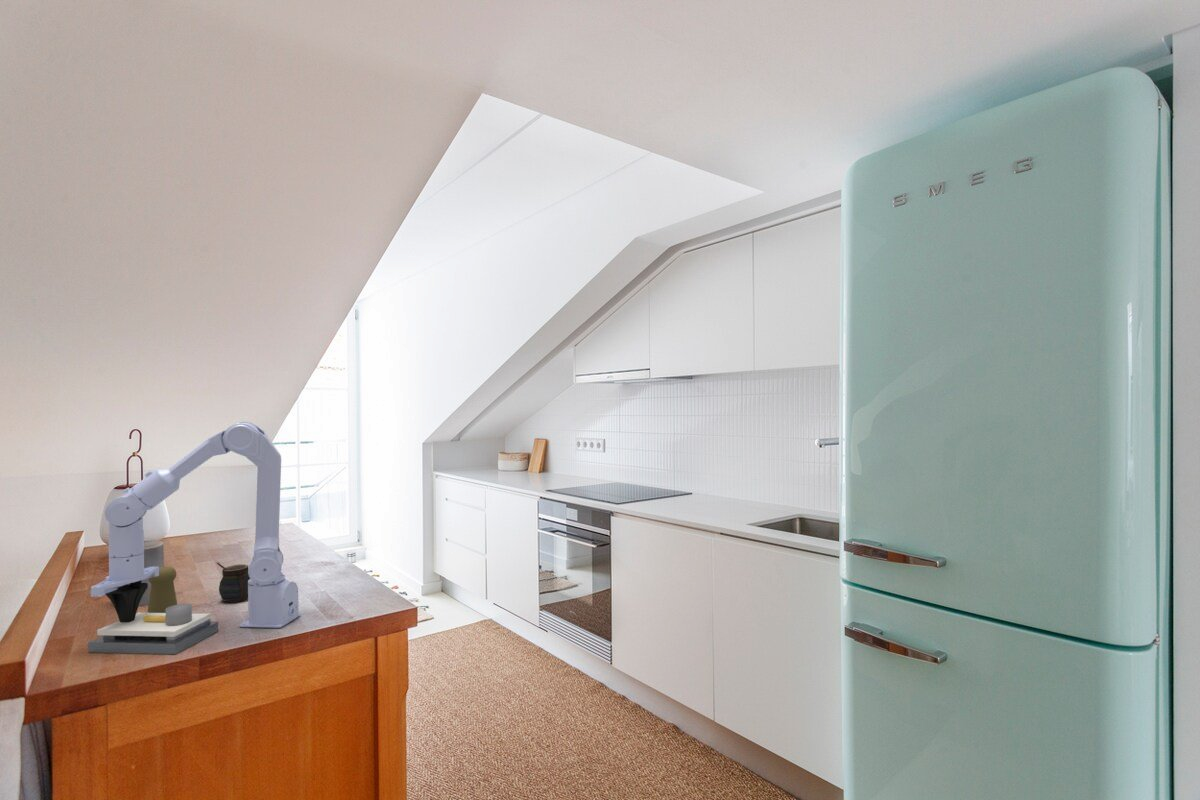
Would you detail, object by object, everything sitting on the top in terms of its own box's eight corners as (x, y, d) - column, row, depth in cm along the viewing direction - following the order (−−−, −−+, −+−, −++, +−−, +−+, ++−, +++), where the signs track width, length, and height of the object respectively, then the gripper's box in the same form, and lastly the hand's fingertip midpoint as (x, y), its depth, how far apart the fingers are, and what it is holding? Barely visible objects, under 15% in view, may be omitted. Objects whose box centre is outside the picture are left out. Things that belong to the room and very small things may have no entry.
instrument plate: (210, 618, 132) (210, 599, 132) (174, 636, 122) (174, 616, 122) (138, 617, 133) (138, 598, 133) (97, 635, 123) (97, 614, 123)
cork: (173, 610, 146) (173, 562, 146) (182, 615, 143) (182, 567, 143) (142, 617, 142) (142, 568, 142) (151, 623, 138) (150, 573, 138)
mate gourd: (259, 598, 155) (258, 557, 154) (226, 607, 148) (225, 565, 148) (244, 592, 159) (243, 553, 158) (212, 601, 152) (211, 560, 152)
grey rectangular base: (218, 631, 133) (218, 616, 133) (175, 654, 121) (175, 638, 121) (138, 629, 134) (138, 615, 134) (88, 652, 122) (88, 636, 122)
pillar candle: (118, 599, 155) (116, 538, 155) (166, 592, 160) (164, 533, 160) (112, 610, 147) (111, 546, 146) (163, 603, 152) (162, 541, 152)
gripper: (137, 545, 135) (137, 609, 135) (75, 563, 121) (76, 634, 121) (168, 546, 135) (168, 609, 135) (110, 564, 120) (110, 635, 120)
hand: (127, 621), depth 128 cm, fingers closed, pressing on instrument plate
